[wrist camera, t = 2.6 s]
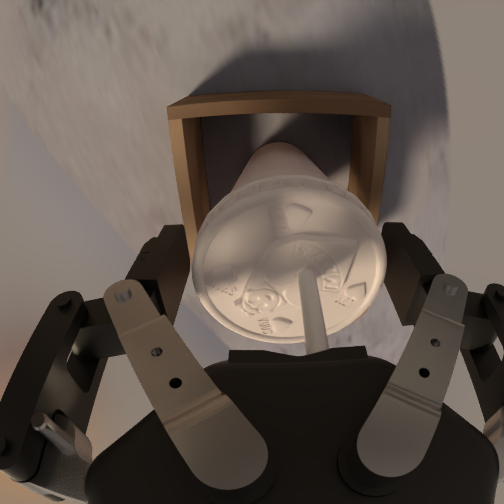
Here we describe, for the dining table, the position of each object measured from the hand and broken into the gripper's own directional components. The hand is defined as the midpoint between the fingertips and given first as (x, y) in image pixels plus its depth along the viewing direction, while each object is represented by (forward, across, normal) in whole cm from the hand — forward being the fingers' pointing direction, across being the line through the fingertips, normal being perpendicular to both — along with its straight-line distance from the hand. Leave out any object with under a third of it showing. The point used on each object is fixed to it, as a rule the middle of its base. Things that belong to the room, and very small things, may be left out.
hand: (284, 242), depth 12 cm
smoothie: (+7, 0, 0) cm, 7 cm away
